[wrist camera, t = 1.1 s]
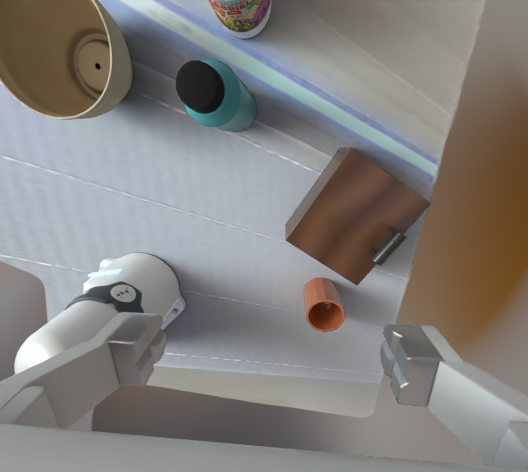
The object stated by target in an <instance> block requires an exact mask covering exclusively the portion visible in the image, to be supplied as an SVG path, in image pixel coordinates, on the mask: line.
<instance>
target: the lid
mask: <svg viewBox="0 0 528 472" xmlns="http://www.w3.org/2000/svg"><path fill="white" fill-rule="evenodd" d="M429 205H430V203H429V202H428V201H426V200H425V199H424V198H422V197H421V196H419V195H418V194H416V193H415V192H414V191H412V190H411V189H409V188H408V187H407V186H405V185H404V184H402V183H401V182H399V181H398V180H397V179H395V178H394V177H392V176H391V175H390V174H388V173H387V172H385V171H384V170H382V169H381V168H380V167H378V166H377V165H375V164H374V163H373V162H371V161H370V160H368V159H367V158H365V157H364V156H363V155H361V154H360V153H358V152H357V151H356V150H354V149H353V148H350V150H349V151H348V152H347V154H346V155H345V157H344V158H343V159H342V161H341V162H340V163H339V165H338V166H337V168H336V169H335V170H334V172H333V173H332V175H331V176H330V177H329V179H328V180H327V182H326V183H325V184H324V186H323V187H322V188H321V190H320V191H319V193H318V194H317V195H316V197H315V198H314V200H313V201H312V202H311V204H310V205H309V206H308V208H307V209H306V211H305V212H304V213H303V215H302V216H301V218H300V219H299V220H298V222H297V223H296V225H295V226H294V227H293V229H292V230H291V231H290V233H289V234H288V236H287V237H286V241H288V242H289V243H291V244H292V245H294V246H295V247H297V248H299V249H300V250H302V251H303V252H305V253H306V254H308V255H310V256H311V257H313V258H314V259H316V260H318V261H319V262H321V263H322V264H324V265H325V266H327V267H329V268H330V269H332V270H333V271H335V272H336V273H338V274H340V275H341V276H343V277H344V278H346V279H347V280H349V281H351V282H352V283H354V284H355V285H358V284H359V283H360V282H361V281H362V280H363V278H364V277H365V276H366V275H367V274H368V273H369V272H370V271H371V270H372V268H373V267H374V266H375V265H376V264H378V265H380V266H381V265H382V264H383V263H384V262H385V261H386V260H387V259H388V258H389V257H390V255H391V254H392V253H393V252H394V251H395V250H396V249H397V248H398V247H399V246H400V244H401V243H402V242H403V241H404V240H405V239H406V238H407V237H406V236H405V235H403V234H404V233H405V232H406V231H407V230H408V229H409V228H410V226H411V225H412V224H413V223H414V222H415V221H416V220H417V219H418V218H419V216H420V215H421V214H422V213H423V212H424V211H425V210H426V209H427V208H428V207H429Z"/></svg>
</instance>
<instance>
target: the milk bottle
mask: <svg viewBox="0 0 528 472" xmlns="http://www.w3.org/2000/svg"><path fill="white" fill-rule="evenodd" d="M209 2H210V4H211V6H212V8H213V9H214V11H215V13H216V15H217V17H218V19H219V20H220V22H221V24H222V25H223V27H224V28H225V29H226V31H227V32H228V33H230V34H231V35H233V36H235V37H237V38H242V39H246V38H251V37H253V36H255V35H257V34H258V33H259V32H261V31H262V29H263V28H264V27H265V25H266V24H267V22H268V19H269V17H270V13H271V0H209Z"/></svg>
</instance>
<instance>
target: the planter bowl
mask: <svg viewBox="0 0 528 472" xmlns="http://www.w3.org/2000/svg"><path fill="white" fill-rule="evenodd" d="M96 64H99V65H100V69H97V68H96ZM132 79H133V70H132V64H131V59H130V55H129V51H128V48H127V45H126V42H125V40H124V38H123V36H122V34H121V32H120V30H119V28H118V26H117V25H116V23H115V21H114V20H113V18H112V17H111V16H110V14H109V13H108V12H107V10H106V9H105V8H104V7H103V6H102V4H101V3H100V2H99V1H98V0H0V82H1V83H2V85H3V86H4V87H5V88H6V89H7V91H8V92H9V93H10V94H11V95H12V96H13V97H14V98H15V99H17V100H18V101H19V102H20V103H21V104H23V105H24V106H26V107H27V108H29V109H30V110H32V111H34V112H36V113H38V114H40V115H43V116H45V117H49V118H53V119H60V120H71V119H83V118H91V117H96V116H99V115H102V114H105V113H107V112H109V111H110V110H112V109H113V108H115V107H116V106H117V105H118V104H119V103H120V102H121V101H122V99H123V98H124V97H125V95H126V94H127V93H128V91H129V90H130V88H131V84H132Z"/></svg>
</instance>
